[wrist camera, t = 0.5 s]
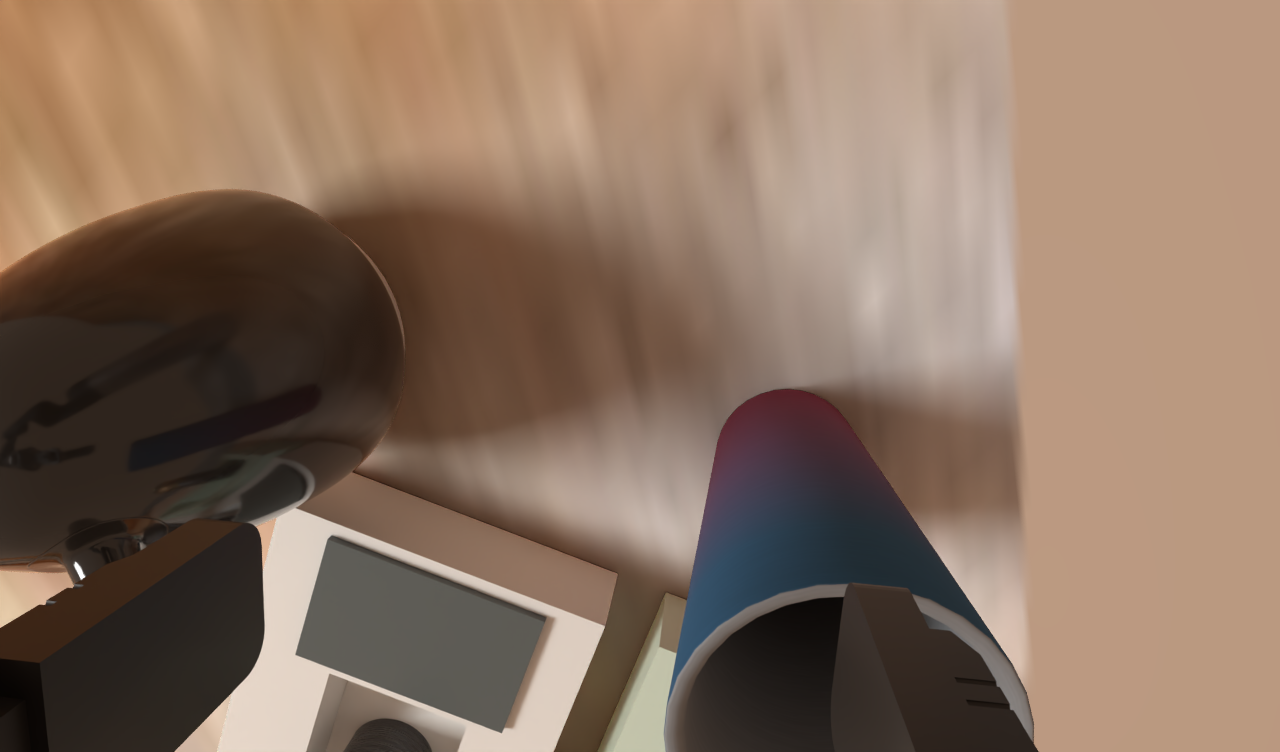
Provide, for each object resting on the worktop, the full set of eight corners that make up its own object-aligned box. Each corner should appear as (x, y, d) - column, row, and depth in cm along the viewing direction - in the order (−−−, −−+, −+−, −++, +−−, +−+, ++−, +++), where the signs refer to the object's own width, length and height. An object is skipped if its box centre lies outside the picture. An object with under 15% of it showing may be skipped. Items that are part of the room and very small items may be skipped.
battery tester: (329, 463, 31) (276, 506, 28) (617, 573, 32) (604, 631, 28) (235, 807, 37) (180, 882, 33) (484, 901, 37) (457, 986, 33)
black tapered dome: (298, 503, 32) (-53, 800, 18) (123, 285, 30) (-432, 414, 16) (501, 370, 30) (289, 584, 15) (323, 124, 28) (-111, 100, 13)
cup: (675, 382, 29) (629, 611, 15) (866, 348, 28) (1017, 558, 14) (710, 551, 31) (700, 903, 17) (892, 524, 30) (1050, 875, 16)
